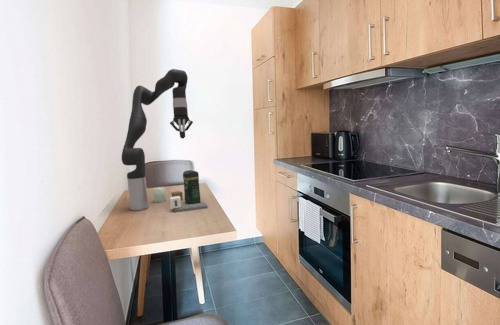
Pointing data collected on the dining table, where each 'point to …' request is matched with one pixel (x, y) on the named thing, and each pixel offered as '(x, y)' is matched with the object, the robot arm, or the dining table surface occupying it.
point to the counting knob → (175, 202)
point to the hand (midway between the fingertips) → (182, 138)
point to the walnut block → (177, 194)
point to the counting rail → (190, 207)
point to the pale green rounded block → (159, 194)
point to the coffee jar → (191, 186)
